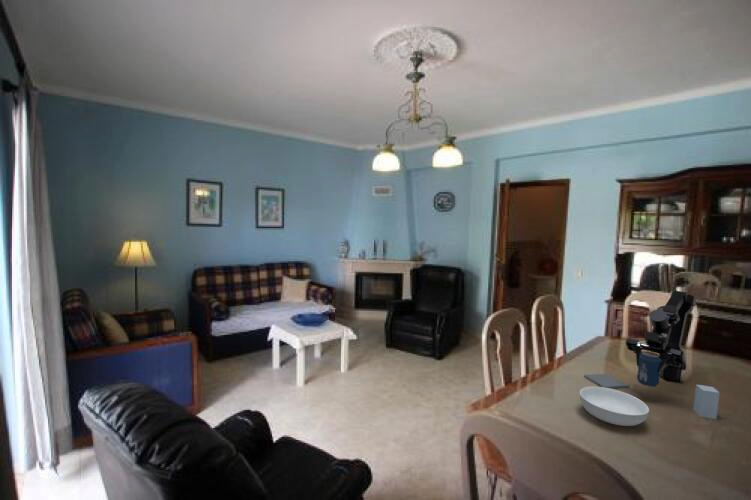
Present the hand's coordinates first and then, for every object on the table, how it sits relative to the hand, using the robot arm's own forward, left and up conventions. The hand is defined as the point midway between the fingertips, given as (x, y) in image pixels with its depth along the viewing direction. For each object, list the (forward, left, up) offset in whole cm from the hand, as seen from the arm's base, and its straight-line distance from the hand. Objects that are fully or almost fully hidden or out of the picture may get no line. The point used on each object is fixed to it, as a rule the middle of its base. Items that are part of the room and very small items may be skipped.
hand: (647, 368), depth 147 cm
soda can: (-1, -1, -7) cm, 7 cm away
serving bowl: (+18, +18, -14) cm, 29 cm away
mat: (+9, -15, -13) cm, 22 cm away
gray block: (-17, +6, -13) cm, 22 cm away
